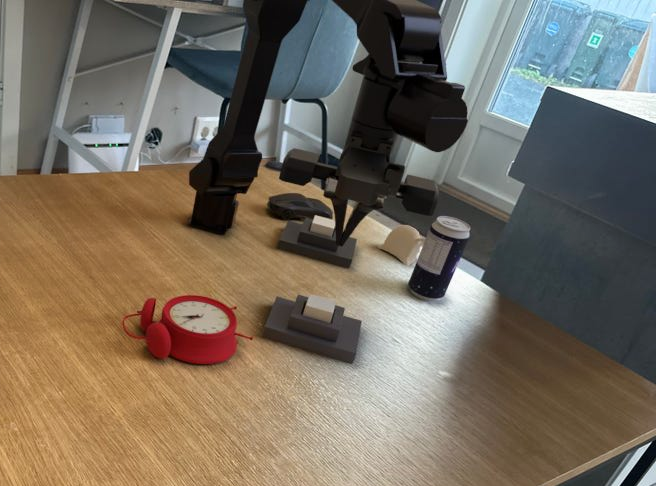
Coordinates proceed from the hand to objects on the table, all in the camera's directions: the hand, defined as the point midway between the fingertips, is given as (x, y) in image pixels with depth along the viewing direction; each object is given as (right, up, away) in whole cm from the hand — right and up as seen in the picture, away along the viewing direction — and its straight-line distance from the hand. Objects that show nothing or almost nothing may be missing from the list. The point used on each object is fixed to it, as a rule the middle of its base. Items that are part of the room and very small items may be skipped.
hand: (339, 245), depth 91 cm
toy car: (+1, +11, +37) cm, 39 cm away
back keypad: (+2, +4, +27) cm, 27 cm away
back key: (+3, +6, +25) cm, 26 cm away
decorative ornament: (+17, +3, +30) cm, 34 cm away
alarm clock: (-20, -13, -3) cm, 24 cm away
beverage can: (+18, -5, +19) cm, 26 cm away
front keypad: (-3, -11, +4) cm, 12 cm away
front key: (-2, -9, +2) cm, 9 cm away
